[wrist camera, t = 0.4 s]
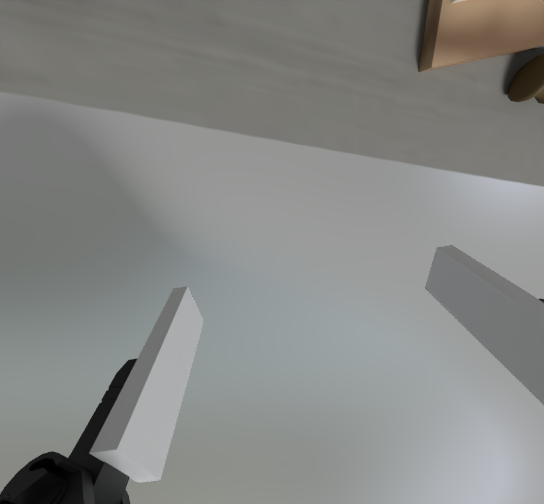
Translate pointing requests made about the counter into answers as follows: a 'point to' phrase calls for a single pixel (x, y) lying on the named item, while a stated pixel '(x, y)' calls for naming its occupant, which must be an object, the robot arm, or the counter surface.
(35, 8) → the counter surface
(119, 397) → the robot arm
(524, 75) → the kendama
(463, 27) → the tan wooden board
